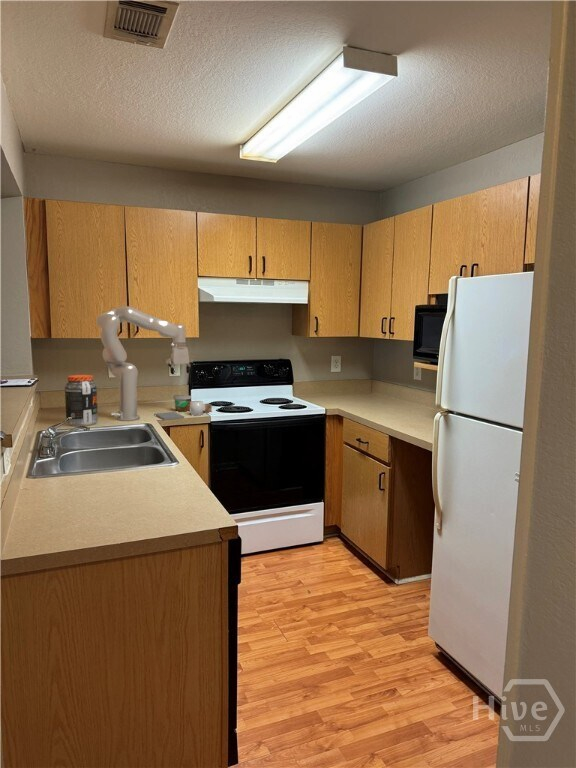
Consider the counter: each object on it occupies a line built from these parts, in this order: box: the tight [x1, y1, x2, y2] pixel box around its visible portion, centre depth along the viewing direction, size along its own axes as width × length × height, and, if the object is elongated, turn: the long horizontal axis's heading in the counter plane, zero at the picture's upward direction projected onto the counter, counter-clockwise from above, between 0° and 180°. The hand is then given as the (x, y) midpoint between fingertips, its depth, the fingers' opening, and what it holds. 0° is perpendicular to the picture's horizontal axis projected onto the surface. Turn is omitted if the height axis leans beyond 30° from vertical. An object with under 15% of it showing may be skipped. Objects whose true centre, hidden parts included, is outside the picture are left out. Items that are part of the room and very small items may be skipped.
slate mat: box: [153, 411, 185, 421], centre depth 298 cm, size 12×16×1 cm
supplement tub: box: [64, 374, 99, 427], centre depth 273 cm, size 16×16×26 cm
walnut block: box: [203, 403, 213, 414], centre depth 312 cm, size 5×5×5 cm
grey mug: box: [190, 400, 206, 417], centre depth 304 cm, size 8×7×8 cm
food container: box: [172, 393, 192, 413], centre depth 314 cm, size 12×6×10 cm, turn 62°
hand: (180, 373), depth 310 cm, fingers open, 9 cm apart
